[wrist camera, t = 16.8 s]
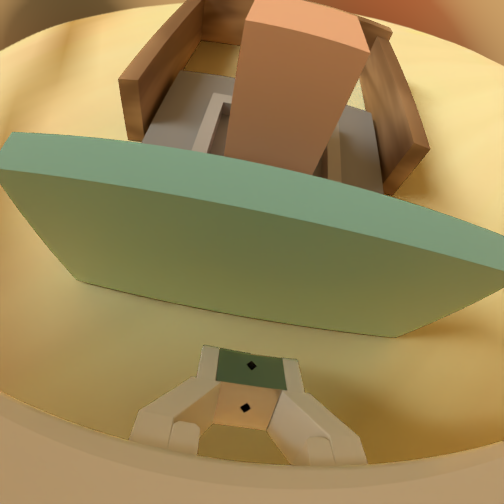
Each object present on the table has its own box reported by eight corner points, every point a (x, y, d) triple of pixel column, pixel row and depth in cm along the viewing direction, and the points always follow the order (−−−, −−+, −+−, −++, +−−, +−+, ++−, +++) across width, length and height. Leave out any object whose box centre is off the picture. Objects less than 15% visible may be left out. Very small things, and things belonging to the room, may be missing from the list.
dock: (128, 139, 19) (116, 64, 14) (192, 34, 26) (196, -18, 21) (392, 195, 21) (438, 138, 15) (368, 73, 28) (390, 27, 22)
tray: (76, 280, 15) (-11, 167, 7) (165, 83, 22) (166, -22, 14) (395, 337, 16) (523, 276, 8) (377, 129, 23) (428, 42, 15)
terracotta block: (221, 175, 17) (245, 19, 9) (234, 126, 19) (259, -9, 11) (303, 192, 17) (370, 53, 9) (306, 142, 19) (357, 16, 11)
